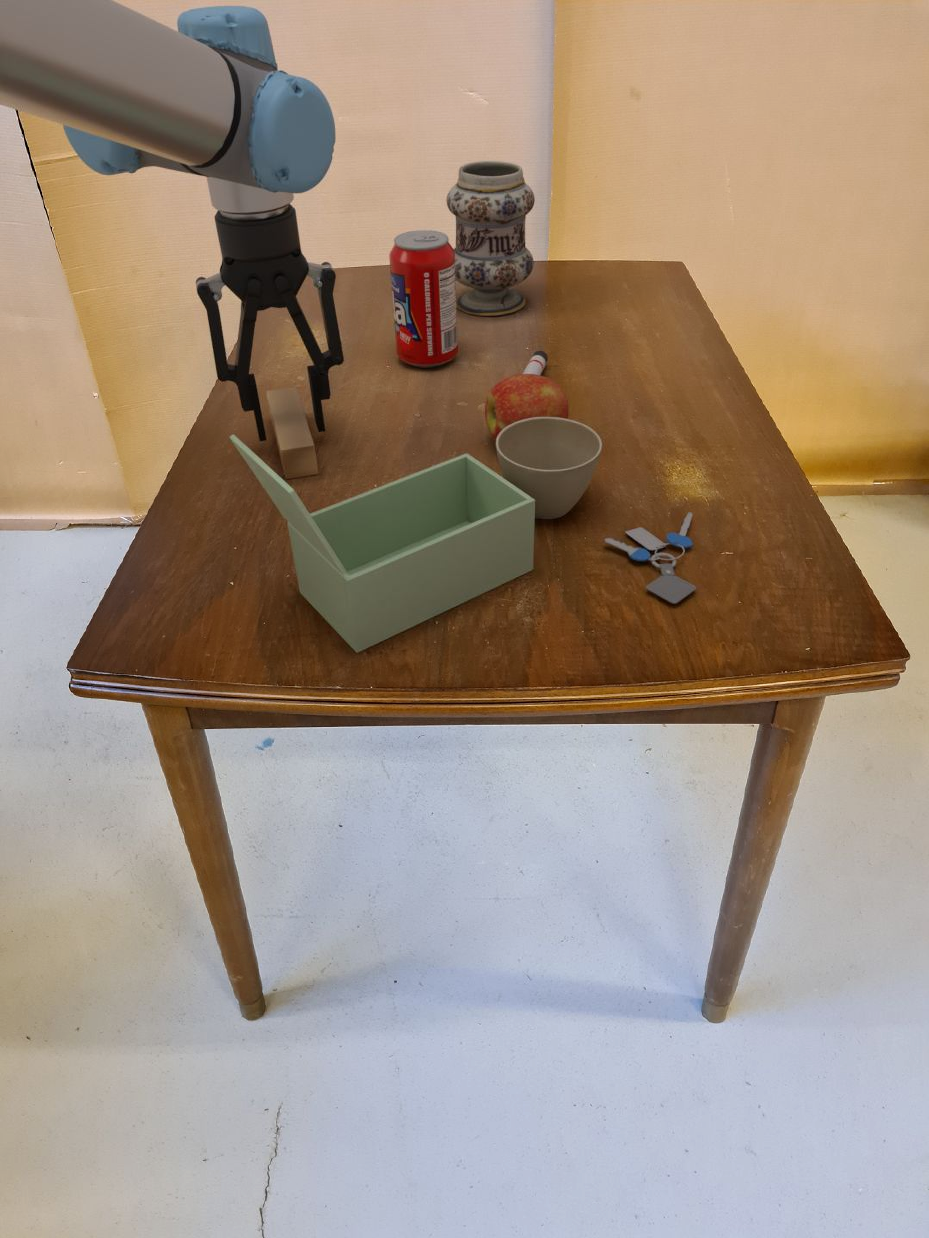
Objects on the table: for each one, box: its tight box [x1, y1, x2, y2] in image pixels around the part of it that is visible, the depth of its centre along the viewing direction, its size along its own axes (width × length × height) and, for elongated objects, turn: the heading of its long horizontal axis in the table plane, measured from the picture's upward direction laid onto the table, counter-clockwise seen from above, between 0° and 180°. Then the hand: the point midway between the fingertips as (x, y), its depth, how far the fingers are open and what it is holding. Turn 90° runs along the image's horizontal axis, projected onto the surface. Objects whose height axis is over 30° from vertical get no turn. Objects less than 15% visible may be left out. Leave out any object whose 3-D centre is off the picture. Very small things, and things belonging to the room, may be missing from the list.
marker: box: [522, 349, 549, 376], centre depth 108 cm, size 15×2×2 cm, turn 164°
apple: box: [484, 373, 570, 441], centre depth 97 cm, size 8×8×8 cm
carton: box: [286, 453, 536, 654], centre depth 79 cm, size 18×10×8 cm, turn 126°
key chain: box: [604, 511, 697, 605], centre depth 83 cm, size 14×8×1 cm, turn 170°
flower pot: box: [495, 417, 603, 520], centre depth 88 cm, size 10×10×7 cm
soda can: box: [388, 229, 459, 369], centre depth 112 cm, size 8×8×15 cm
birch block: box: [265, 386, 319, 480], centre depth 99 cm, size 4×14×4 cm, turn 16°
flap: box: [229, 434, 347, 575], centre depth 68 cm, size 9×10×1 cm
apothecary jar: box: [446, 160, 536, 317], centre depth 124 cm, size 12×12×18 cm
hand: (291, 430), depth 99 cm, fingers open, 6 cm apart
